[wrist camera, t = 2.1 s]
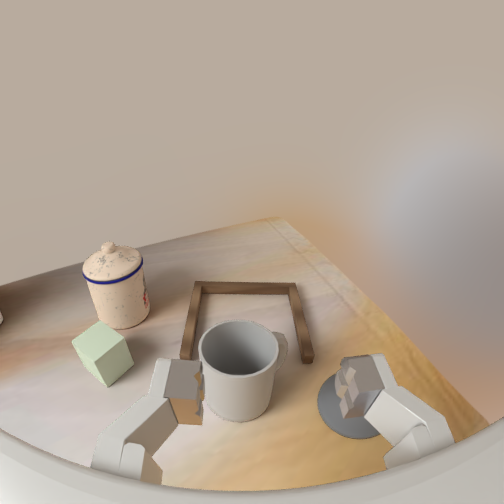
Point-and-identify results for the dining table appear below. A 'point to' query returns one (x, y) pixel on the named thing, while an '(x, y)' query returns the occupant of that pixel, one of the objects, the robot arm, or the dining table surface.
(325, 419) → the slate coaster
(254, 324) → the cup
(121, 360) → the sage box
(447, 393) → the dining table surface
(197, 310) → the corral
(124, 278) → the teacup with lid
